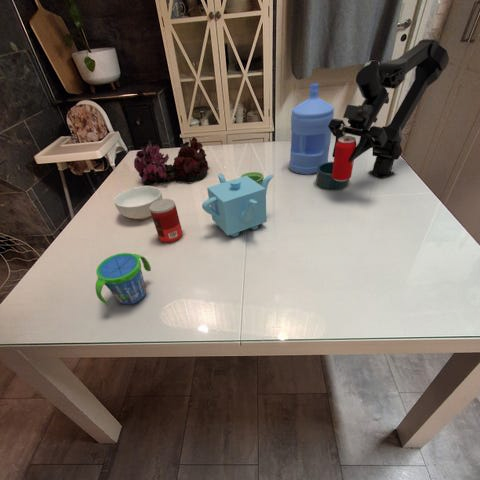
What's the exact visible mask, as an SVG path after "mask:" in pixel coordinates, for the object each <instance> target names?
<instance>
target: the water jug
mask: <svg viewBox="0 0 480 480" xmlns="http://www.w3.org/2000/svg"><path fill="white" fill-rule="evenodd" d="M319 86H320V83H318V82H313V83H310V84H309V96H308V98H307V99H306V100H304V101H302V102H300V103H299V104H296V105H295V106H294V107H293V108H292V110H291V116H290V131H291V135H290V136H291V137H290V139H291V140H290V149H289V150H290V152H289V153H290V155H289V168H290V170H291V171H293V172H294V173H296V174H301V175H313V174H314V175H315V174H317V167H318V166H319V165H321V164H323V163H326V162H329V153H330V146H331V140H332V139H331V138H332V132H331V131H330V129H329V127H328V125H329V123H330V121H331V120H332V119H334V116H335V115H334V114H335V107H334V105H332V104H331V103H329V102H327V101H325V100H323V99H321V98H320V97H319V91H320V89H319Z"/></svg>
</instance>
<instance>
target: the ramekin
mask: <svg viewBox="0 0 480 480" xmlns="http://www.w3.org/2000/svg"><path fill="white" fill-rule="evenodd" d="M244 176H248V177H249V178H251V179H252V180H254V181H255V182H257V183H258V184H259V185H261V184H262V182H263V180H264V179H265V175H264V174H263V173H262V172H259V171H249V172H245V173H243V174H241V176H240V178H241V177H244Z"/></svg>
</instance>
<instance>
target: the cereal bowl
mask: <svg viewBox="0 0 480 480" xmlns="http://www.w3.org/2000/svg"><path fill="white" fill-rule="evenodd" d="M162 199H163V193H162V190H161V189H160V188H159V187H157V186H153V185H148V186H146V185H141V186H135V187H131V188H128V189H125V190H123V191H121V192H120V193H117V195H115V197H114V198H113V203H114V206H115V208H116V210H117V211H118V213H119V214H121V215H122V216H123V217H125V218H129V219H135V220H146V219H149V218H150V217H152V215H151V212H150V208H149V207H150V205H151V204H152V203H154V202H155V201H158V200H162Z"/></svg>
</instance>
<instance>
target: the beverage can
mask: <svg viewBox="0 0 480 480" xmlns="http://www.w3.org/2000/svg"><path fill="white" fill-rule="evenodd" d="M357 145H358V143H357V139H356V137H354V136H353V135H352V136H351V135H345V136H343V137H340V138H339V139H338V141H337V143H336V147H335V155H334V157H333V162H334V163H333V171H332V178H333V179H334V180H336V181H346V180H348V179H349V180H350V179H351V178H352V174H353V167H354V161H355V159H354V160H353V161H352V162H350V161H349V159H350V157H351V155H352V153H353V152H354V150H355V148H356V147H357Z"/></svg>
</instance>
